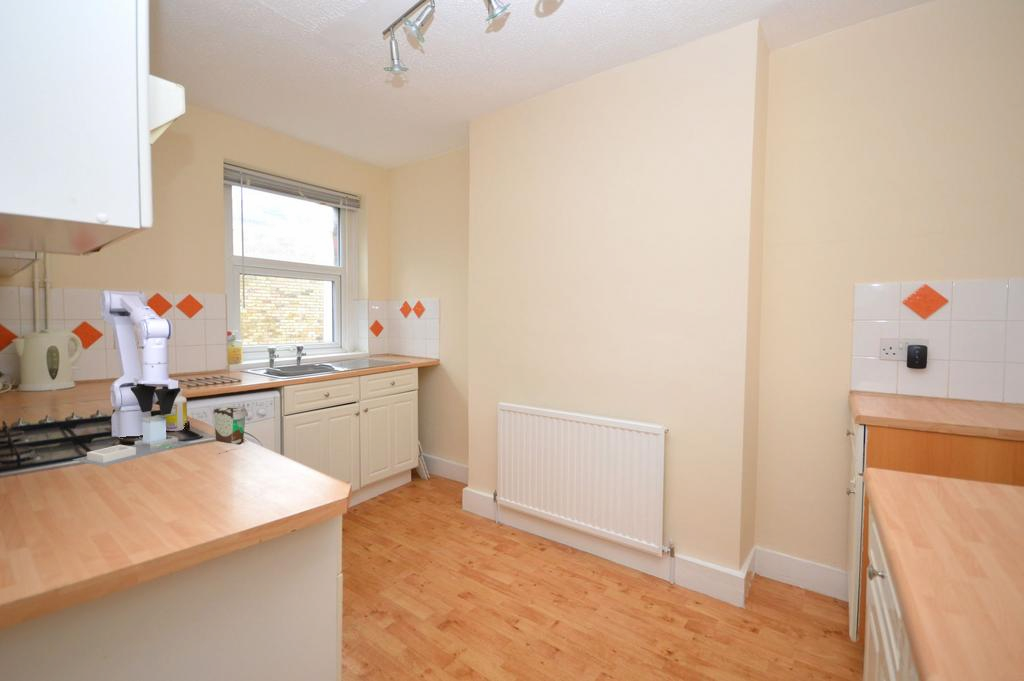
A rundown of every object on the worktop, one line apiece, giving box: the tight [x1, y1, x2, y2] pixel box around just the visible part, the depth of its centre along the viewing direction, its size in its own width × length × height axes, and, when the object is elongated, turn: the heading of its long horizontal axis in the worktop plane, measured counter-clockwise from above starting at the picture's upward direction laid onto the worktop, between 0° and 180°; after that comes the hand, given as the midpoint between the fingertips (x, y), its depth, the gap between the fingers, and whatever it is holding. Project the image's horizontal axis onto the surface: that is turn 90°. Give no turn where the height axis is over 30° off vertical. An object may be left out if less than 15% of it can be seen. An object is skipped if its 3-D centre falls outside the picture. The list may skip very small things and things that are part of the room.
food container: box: [212, 405, 249, 446], centre depth 131 cm, size 12×6×10 cm, turn 58°
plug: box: [142, 414, 167, 443], centre depth 122 cm, size 3×4×8 cm
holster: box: [86, 444, 136, 463], centre depth 113 cm, size 6×7×2 cm
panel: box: [72, 440, 193, 467], centre depth 118 cm, size 12×21×1 cm, turn 161°
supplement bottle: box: [160, 388, 188, 432], centre depth 142 cm, size 7×7×13 cm
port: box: [134, 434, 179, 451], centre depth 122 cm, size 8×7×2 cm
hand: (156, 412), depth 122 cm, fingers open, 7 cm apart
